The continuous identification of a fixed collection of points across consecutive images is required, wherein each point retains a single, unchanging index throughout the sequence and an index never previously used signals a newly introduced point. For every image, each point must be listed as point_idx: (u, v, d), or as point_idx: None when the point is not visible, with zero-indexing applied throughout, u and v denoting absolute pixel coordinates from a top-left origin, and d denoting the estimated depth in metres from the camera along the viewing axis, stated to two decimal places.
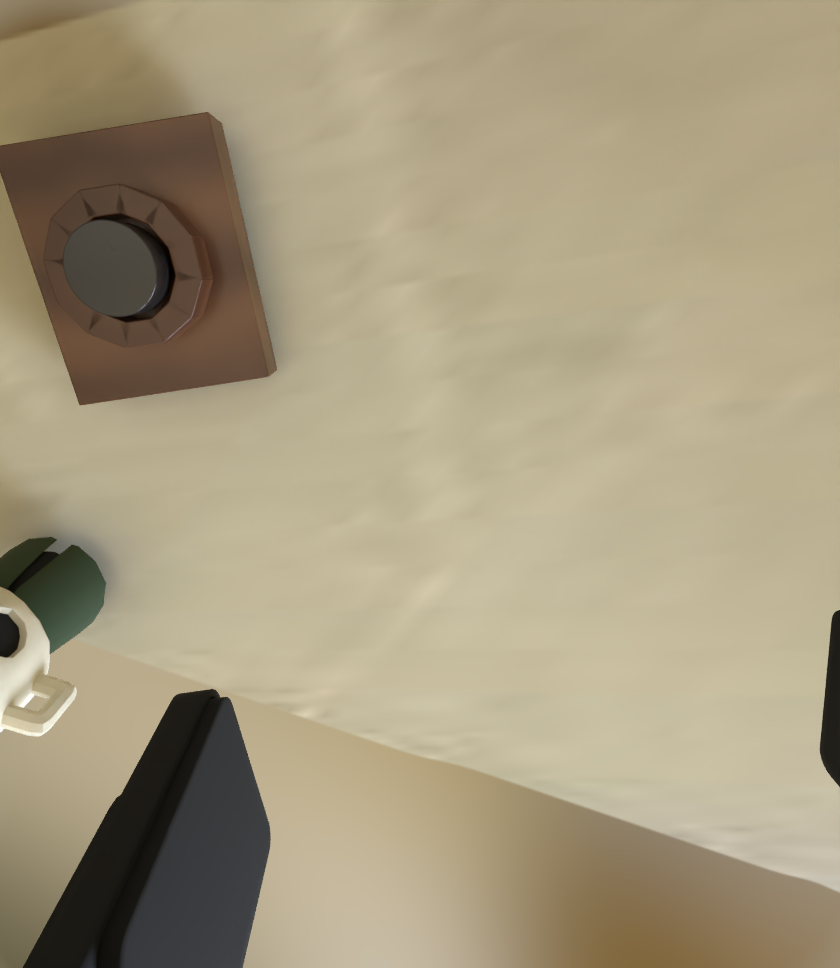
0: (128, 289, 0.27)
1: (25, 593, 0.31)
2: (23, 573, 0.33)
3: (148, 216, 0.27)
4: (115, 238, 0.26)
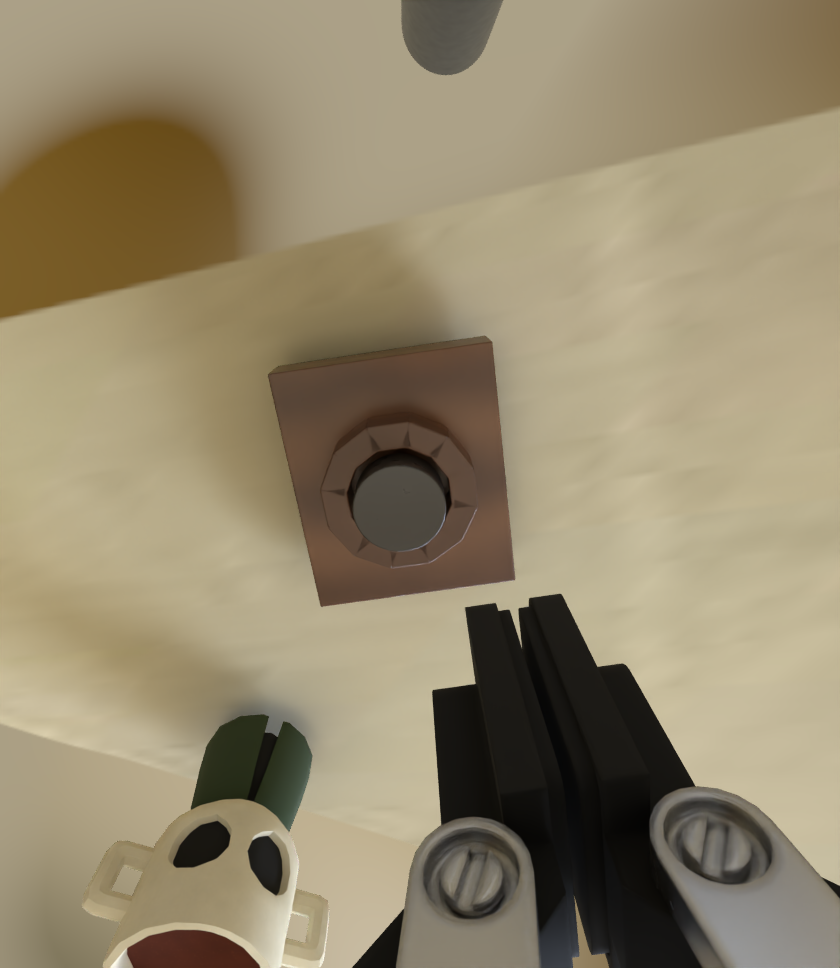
0: (414, 527, 0.26)
1: (265, 796, 0.31)
2: (254, 768, 0.32)
3: (433, 451, 0.26)
4: (409, 483, 0.25)
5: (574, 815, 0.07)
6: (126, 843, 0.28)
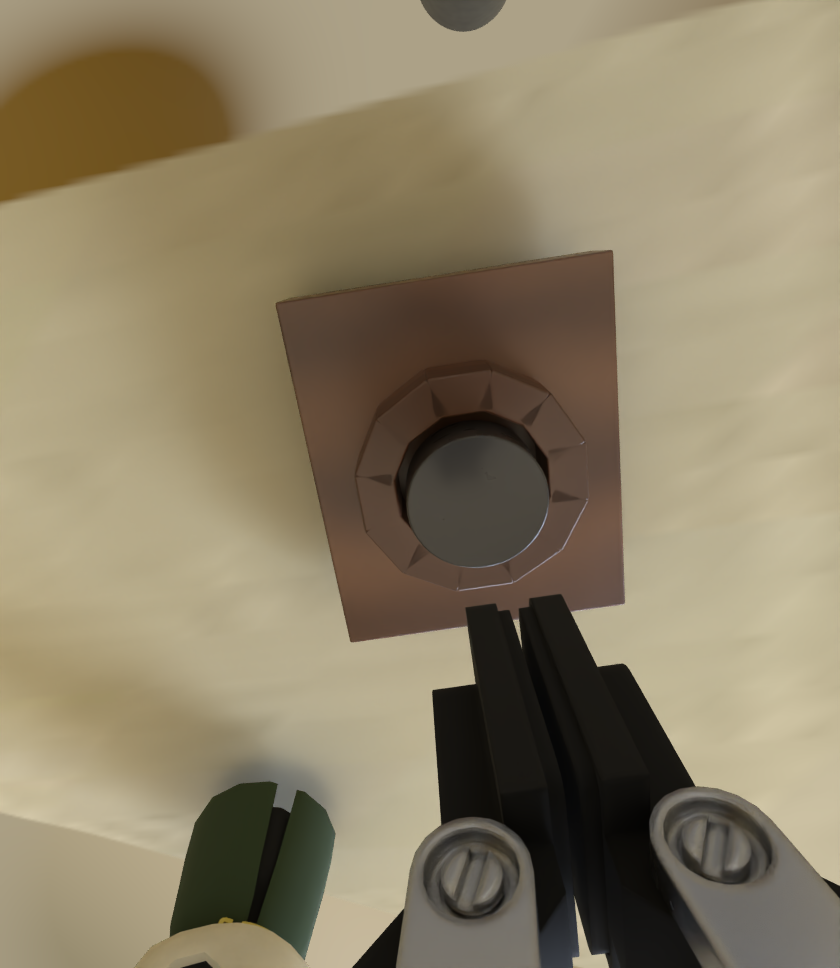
0: (500, 531, 0.17)
1: (274, 908, 0.22)
2: None
3: (527, 415, 0.17)
4: (495, 462, 0.16)
5: (574, 815, 0.07)
6: None
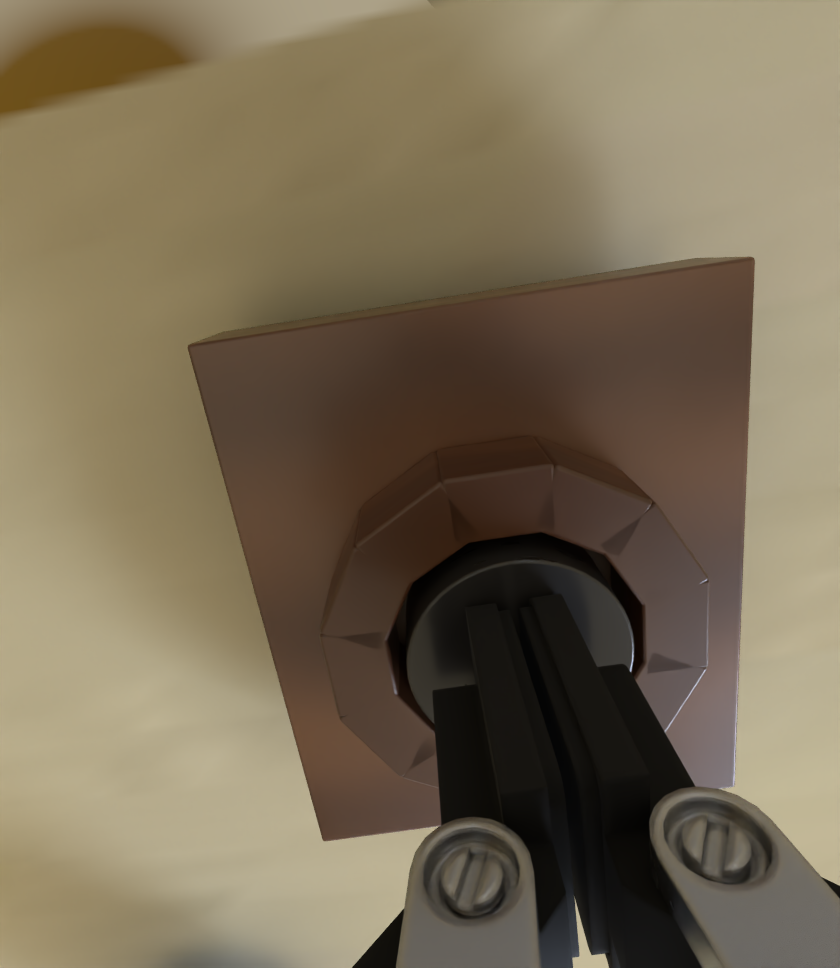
0: None
1: None
2: None
3: (613, 538, 0.10)
4: None
5: (574, 815, 0.07)
6: None
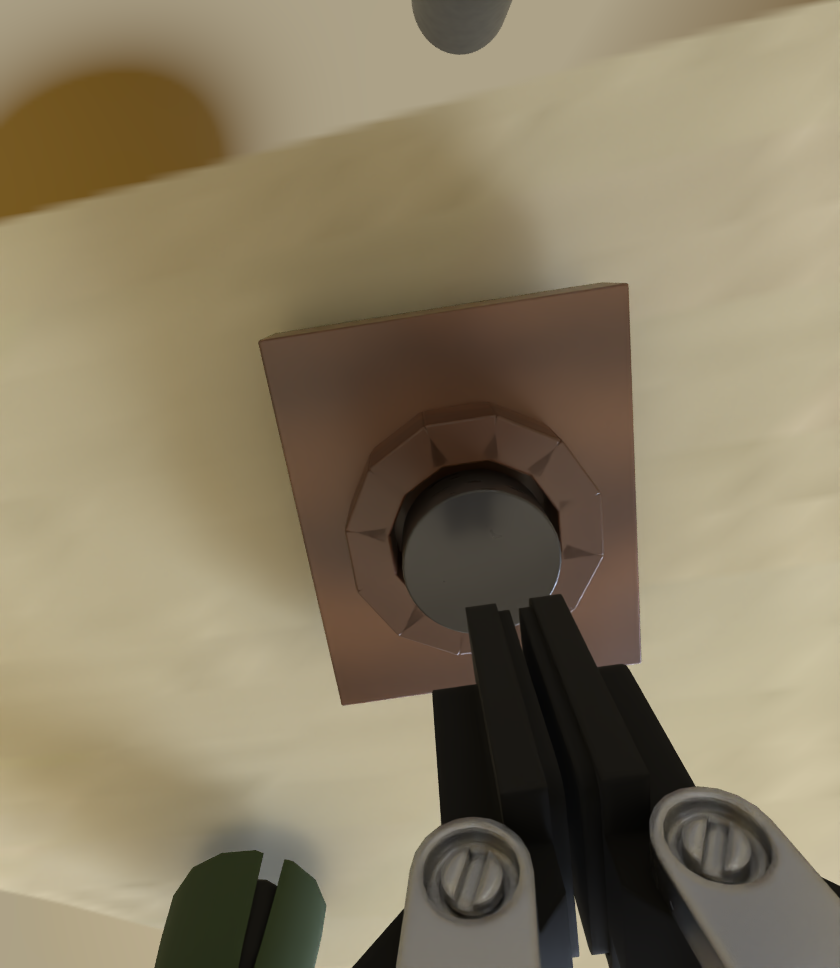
0: (507, 594, 0.15)
1: None
2: None
3: (535, 464, 0.16)
4: (501, 520, 0.15)
5: (574, 815, 0.07)
6: None
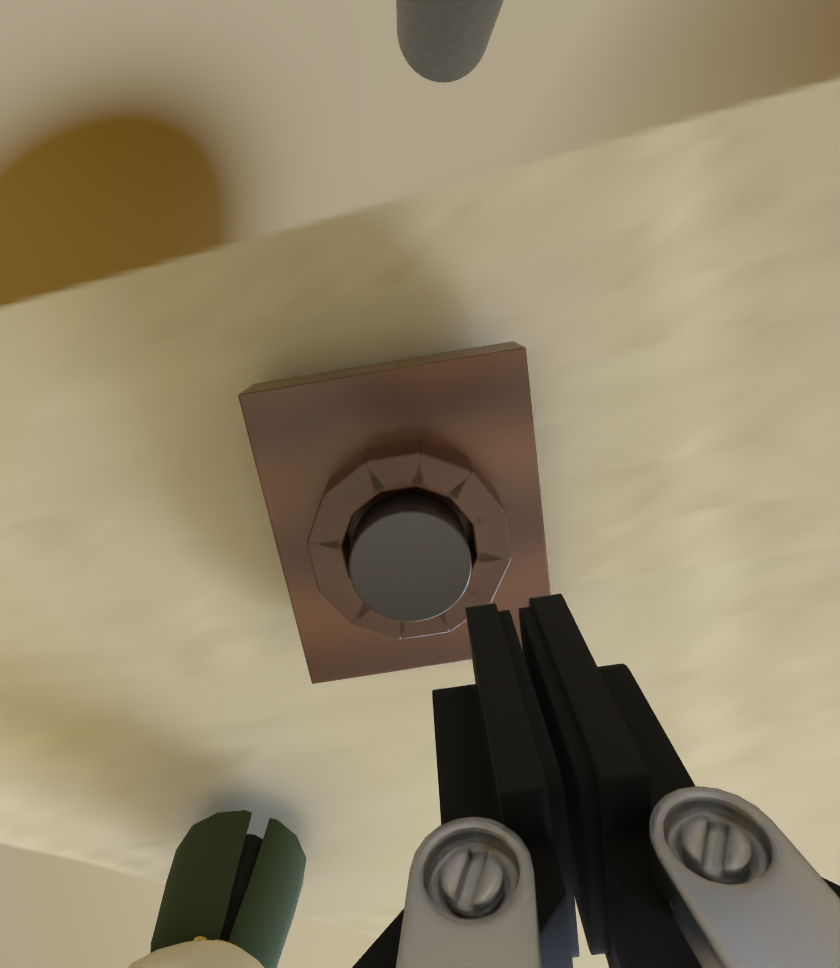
0: (430, 590, 0.20)
1: (244, 928, 0.25)
2: None
3: (453, 489, 0.20)
4: (423, 533, 0.19)
5: (574, 815, 0.07)
6: None
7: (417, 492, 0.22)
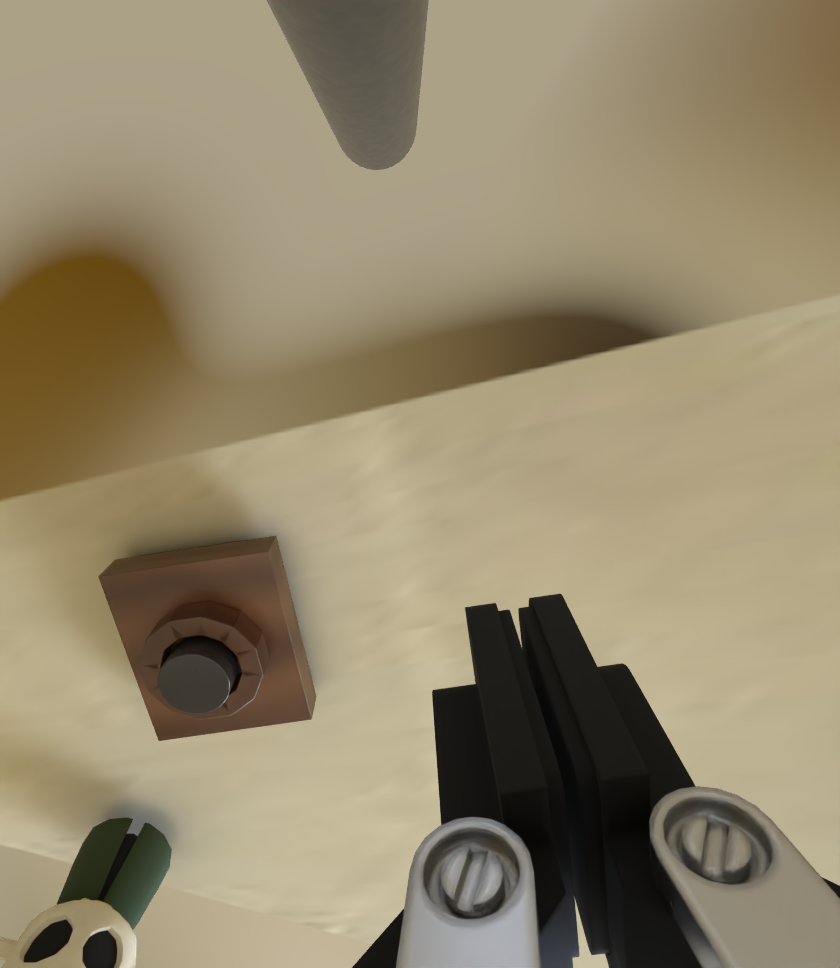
0: (207, 696, 0.34)
1: (115, 893, 0.39)
2: (111, 867, 0.40)
3: (222, 636, 0.34)
4: (198, 666, 0.33)
5: (574, 815, 0.07)
6: None
7: None
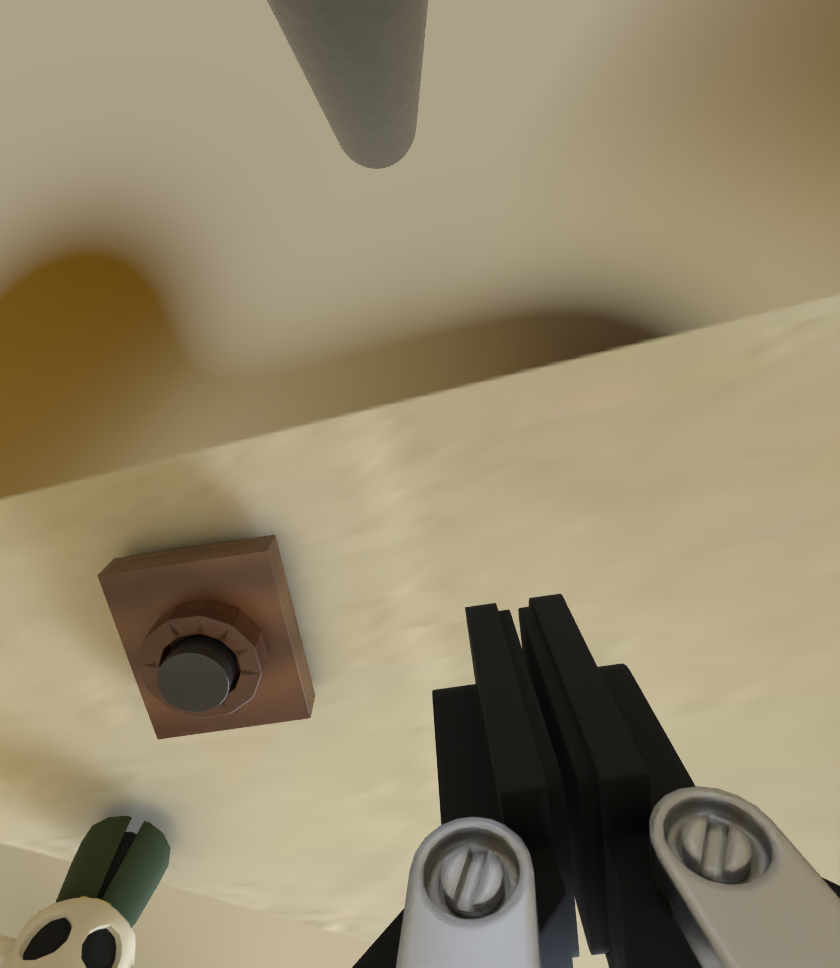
0: (206, 695, 0.34)
1: (114, 891, 0.39)
2: (110, 866, 0.40)
3: (221, 635, 0.34)
4: (197, 665, 0.34)
5: (575, 815, 0.07)
6: None
7: None
